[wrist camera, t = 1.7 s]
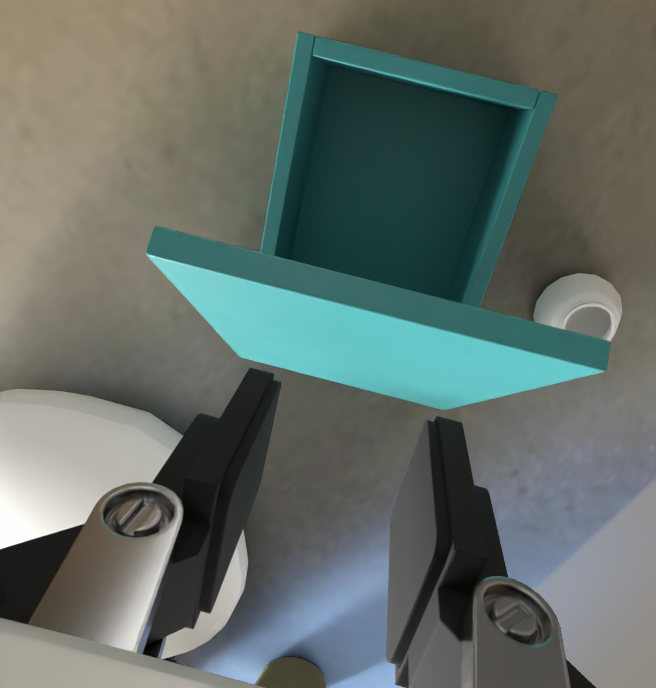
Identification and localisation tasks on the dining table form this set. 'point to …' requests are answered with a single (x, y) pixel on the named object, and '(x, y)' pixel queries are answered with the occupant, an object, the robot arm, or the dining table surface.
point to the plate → (89, 477)
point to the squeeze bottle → (291, 674)
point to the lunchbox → (400, 168)
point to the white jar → (580, 306)
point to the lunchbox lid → (368, 327)
